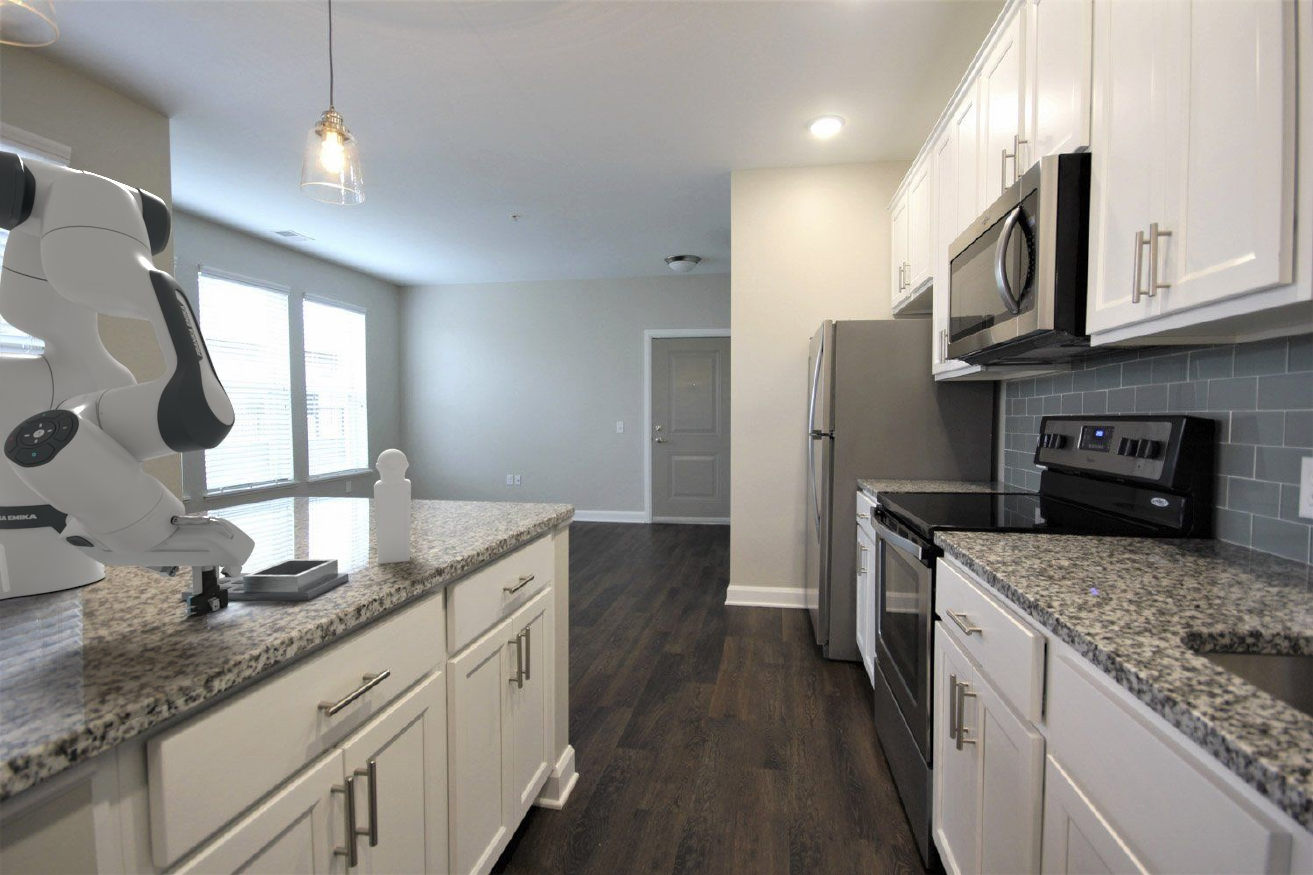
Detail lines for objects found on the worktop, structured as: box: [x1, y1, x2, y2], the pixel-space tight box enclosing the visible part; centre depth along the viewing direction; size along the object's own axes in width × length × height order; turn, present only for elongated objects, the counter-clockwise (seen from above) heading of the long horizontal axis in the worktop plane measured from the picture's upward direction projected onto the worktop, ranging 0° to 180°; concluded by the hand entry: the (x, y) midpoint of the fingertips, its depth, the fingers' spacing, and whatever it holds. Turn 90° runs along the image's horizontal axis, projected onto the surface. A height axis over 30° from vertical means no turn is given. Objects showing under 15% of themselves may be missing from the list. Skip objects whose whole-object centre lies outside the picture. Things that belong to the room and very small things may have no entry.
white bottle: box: [373, 448, 412, 565], centre depth 114 cm, size 6×6×22 cm
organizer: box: [181, 558, 349, 601], centre depth 95 cm, size 20×11×4 cm, turn 88°
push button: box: [179, 566, 229, 618], centre depth 84 cm, size 7×5×10 cm
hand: (203, 573), depth 84 cm, fingers open, 8 cm apart
